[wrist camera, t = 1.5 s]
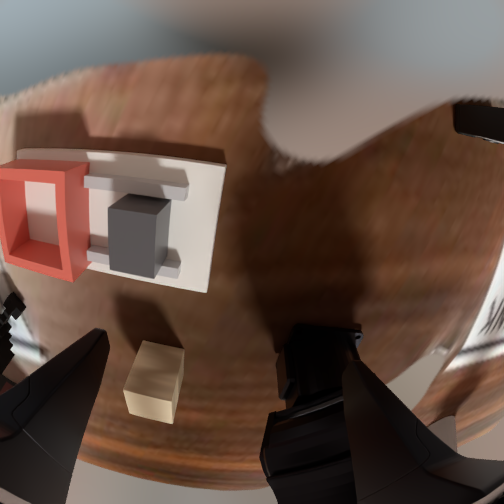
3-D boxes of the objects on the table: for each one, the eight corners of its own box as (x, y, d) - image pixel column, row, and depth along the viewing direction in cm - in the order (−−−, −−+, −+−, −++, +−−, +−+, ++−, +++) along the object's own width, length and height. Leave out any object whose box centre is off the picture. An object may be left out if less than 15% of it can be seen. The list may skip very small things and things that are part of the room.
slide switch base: (226, 164, 17) (219, 176, 13) (208, 285, 21) (200, 319, 17) (24, 148, 16) (-9, 158, 12) (31, 247, 20) (5, 268, 16)
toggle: (171, 199, 17) (156, 215, 14) (167, 255, 19) (154, 279, 16) (128, 193, 17) (107, 207, 14) (127, 248, 18) (109, 269, 16)
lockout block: (184, 349, 24) (171, 401, 19) (183, 374, 26) (172, 423, 21) (142, 340, 24) (123, 389, 18) (145, 366, 26) (129, 413, 20)
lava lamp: (409, 445, 38) (441, 582, 7) (423, 425, 34) (464, 581, 3) (445, 431, 38) (483, 558, 6) (462, 409, 34) (510, 551, 2)
